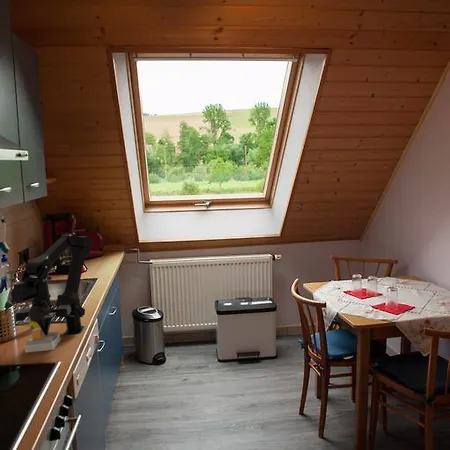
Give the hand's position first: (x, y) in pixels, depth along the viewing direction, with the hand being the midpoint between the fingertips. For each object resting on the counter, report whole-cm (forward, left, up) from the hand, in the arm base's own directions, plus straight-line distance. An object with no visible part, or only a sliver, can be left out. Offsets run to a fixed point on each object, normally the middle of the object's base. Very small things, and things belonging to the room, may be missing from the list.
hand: (46, 334), depth 164 cm
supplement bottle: (-20, -11, -4) cm, 23 cm away
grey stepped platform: (0, -2, -4) cm, 5 cm away
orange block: (0, -3, -2) cm, 3 cm away
